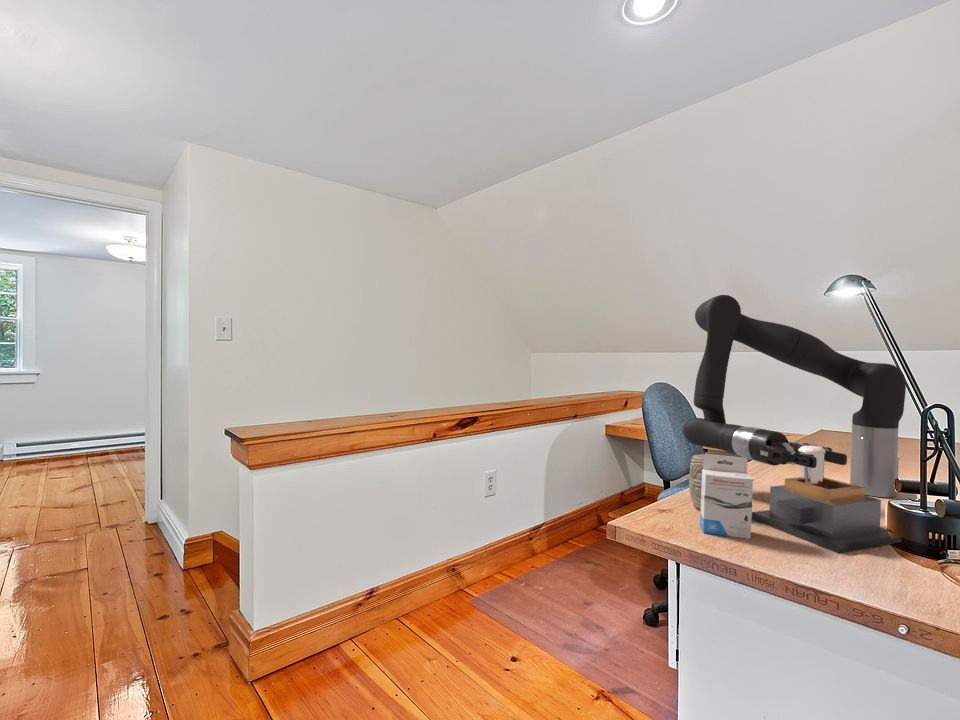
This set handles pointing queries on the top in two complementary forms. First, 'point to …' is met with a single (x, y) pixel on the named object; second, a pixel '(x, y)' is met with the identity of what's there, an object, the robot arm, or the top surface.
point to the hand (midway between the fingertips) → (830, 461)
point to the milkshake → (816, 474)
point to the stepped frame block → (826, 515)
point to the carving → (696, 479)
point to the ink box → (726, 497)
